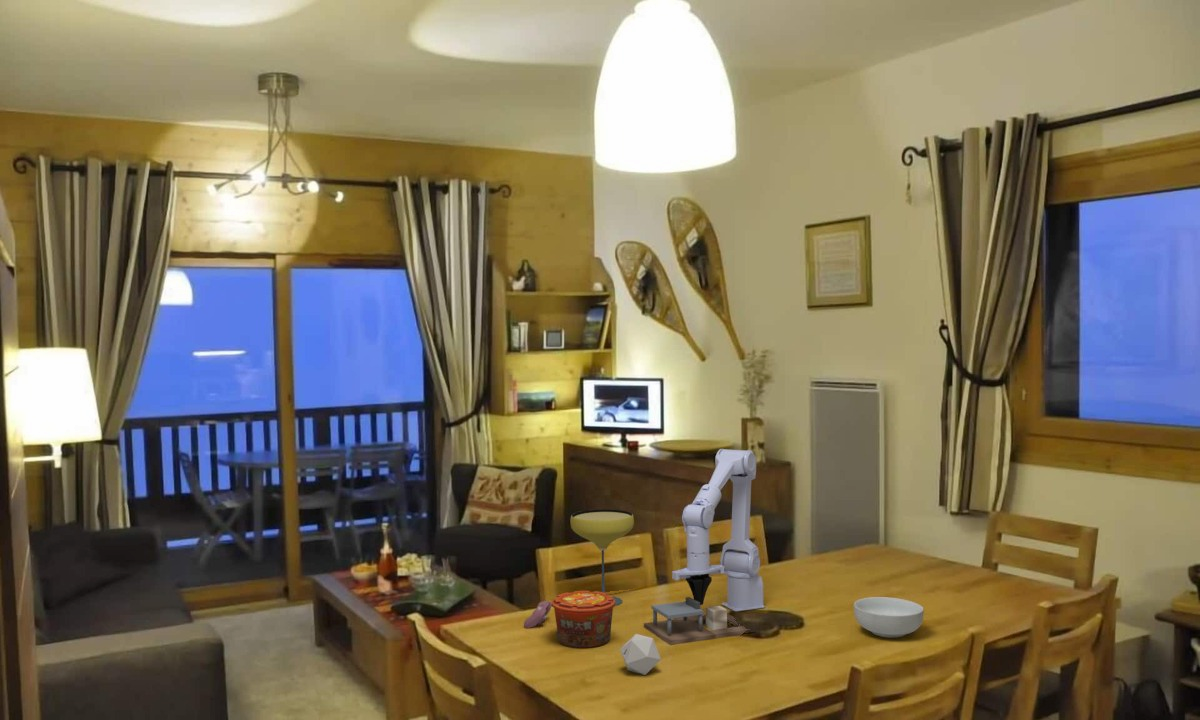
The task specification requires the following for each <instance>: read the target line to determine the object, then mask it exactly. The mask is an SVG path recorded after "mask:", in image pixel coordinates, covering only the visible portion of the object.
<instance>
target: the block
mask: <svg viewBox="0 0 1200 720" xmlns="http://www.w3.org/2000/svg"><path fill="white" fill-rule="evenodd" d="M727 613H728V610H727V609H726V608H724V607H723V606H721V605H714V606H706V607H705V615H706V623H705V628H707V629H710V630H716V629H724V628H728V623H727Z"/></svg>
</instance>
